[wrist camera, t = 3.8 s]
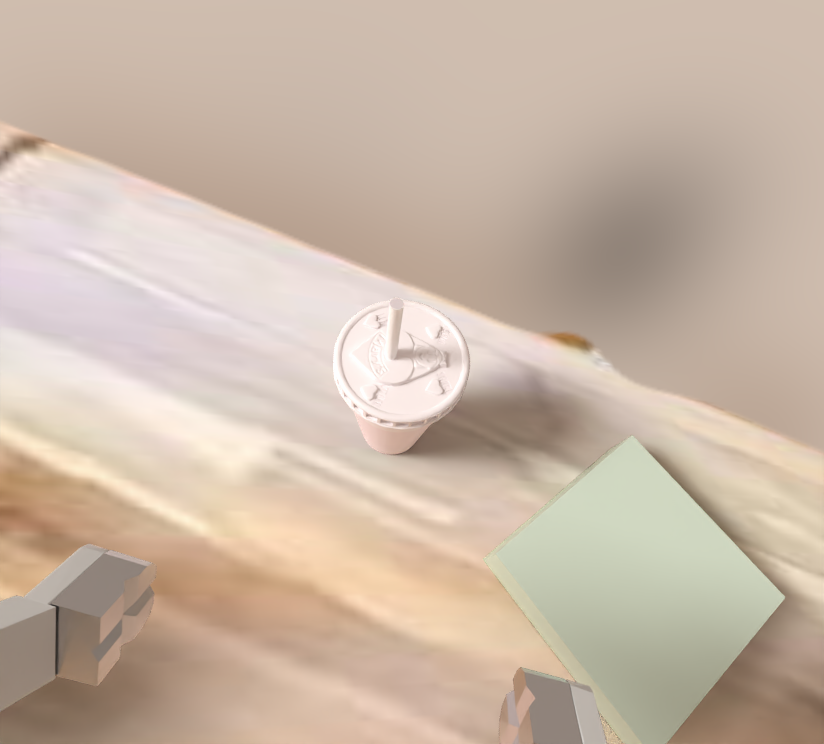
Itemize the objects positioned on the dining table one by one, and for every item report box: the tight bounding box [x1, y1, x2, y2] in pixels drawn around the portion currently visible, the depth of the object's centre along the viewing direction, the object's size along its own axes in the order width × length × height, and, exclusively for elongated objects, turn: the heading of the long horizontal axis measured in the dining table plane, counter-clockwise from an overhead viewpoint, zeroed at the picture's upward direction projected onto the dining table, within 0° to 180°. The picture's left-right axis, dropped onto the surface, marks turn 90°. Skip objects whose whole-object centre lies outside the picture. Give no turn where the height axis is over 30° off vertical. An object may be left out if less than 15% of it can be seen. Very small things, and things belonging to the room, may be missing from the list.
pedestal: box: [483, 435, 785, 744], centre depth 27 cm, size 11×11×3 cm
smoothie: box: [333, 297, 470, 455], centre depth 25 cm, size 6×6×14 cm
